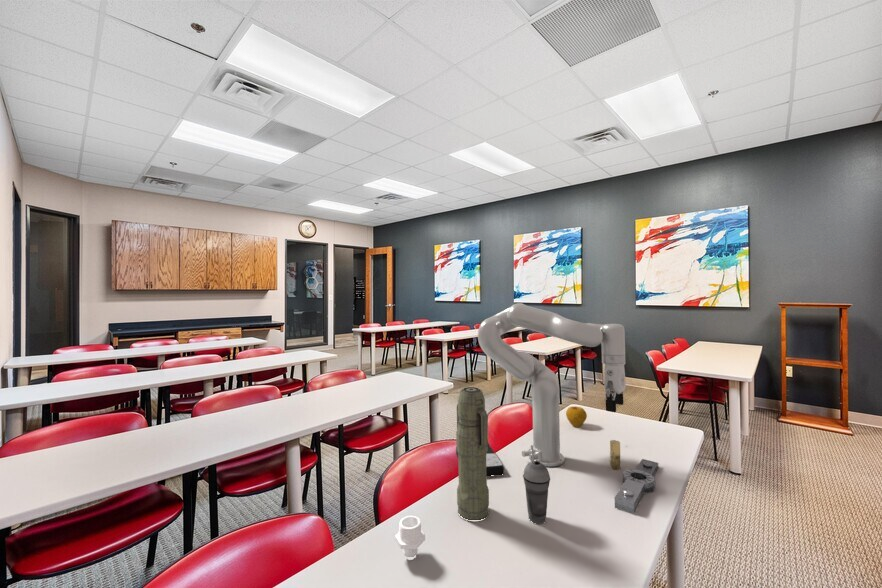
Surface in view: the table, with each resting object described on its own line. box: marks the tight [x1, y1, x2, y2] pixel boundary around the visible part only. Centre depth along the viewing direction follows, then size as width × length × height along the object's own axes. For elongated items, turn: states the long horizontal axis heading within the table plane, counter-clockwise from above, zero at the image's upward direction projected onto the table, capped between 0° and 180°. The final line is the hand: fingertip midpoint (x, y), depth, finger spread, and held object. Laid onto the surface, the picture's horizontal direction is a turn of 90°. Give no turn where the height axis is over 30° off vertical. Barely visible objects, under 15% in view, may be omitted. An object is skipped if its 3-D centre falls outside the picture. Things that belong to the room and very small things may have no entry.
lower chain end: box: [622, 458, 659, 494], centre depth 121 cm, size 22×9×2 cm, turn 140°
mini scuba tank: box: [522, 444, 551, 525], centre depth 100 cm, size 7×7×20 cm
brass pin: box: [609, 439, 622, 471], centre depth 128 cm, size 3×3×9 cm
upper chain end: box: [614, 469, 656, 515], centre depth 111 cm, size 22×9×4 cm, turn 140°
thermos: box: [455, 386, 490, 520], centre depth 103 cm, size 9×12×35 cm
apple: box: [565, 406, 588, 428], centre depth 168 cm, size 9×9×9 cm
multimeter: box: [455, 443, 505, 477], centre depth 132 cm, size 13×19×5 cm
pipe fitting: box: [394, 515, 426, 557], centre depth 87 cm, size 6×7×8 cm
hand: (614, 407), depth 128 cm, fingers open, 9 cm apart
